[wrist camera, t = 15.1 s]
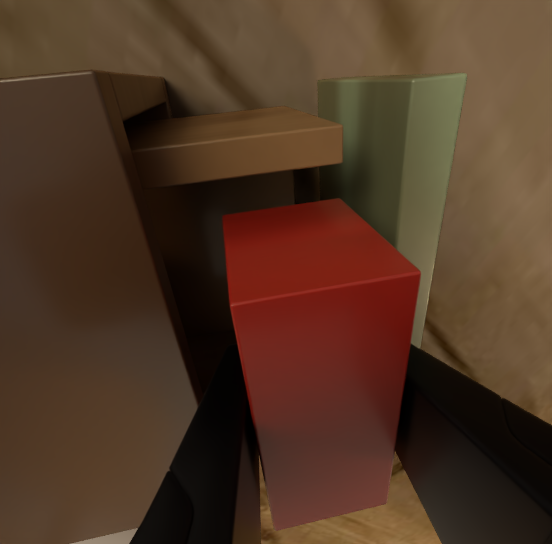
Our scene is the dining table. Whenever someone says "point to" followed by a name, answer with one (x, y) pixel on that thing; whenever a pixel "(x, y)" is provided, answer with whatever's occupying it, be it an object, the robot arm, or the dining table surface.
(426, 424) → the robot arm
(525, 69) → the dining table surface
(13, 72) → the dining table surface
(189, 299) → the drawer
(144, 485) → the cabinet
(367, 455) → the red rectangular block
